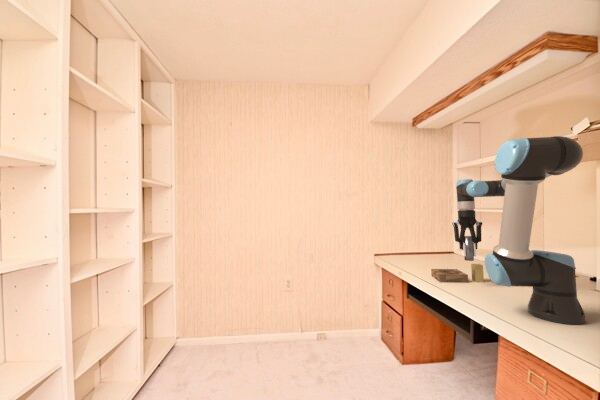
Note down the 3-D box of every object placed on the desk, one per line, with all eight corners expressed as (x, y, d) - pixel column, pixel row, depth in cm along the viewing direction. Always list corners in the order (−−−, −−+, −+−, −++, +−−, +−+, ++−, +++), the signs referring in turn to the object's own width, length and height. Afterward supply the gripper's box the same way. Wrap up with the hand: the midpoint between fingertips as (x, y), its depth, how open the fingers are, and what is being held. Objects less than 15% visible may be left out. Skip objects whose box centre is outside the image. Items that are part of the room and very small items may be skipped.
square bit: (483, 282, 140) (482, 265, 141) (475, 282, 141) (474, 265, 141) (480, 280, 144) (479, 263, 145) (472, 280, 145) (471, 263, 145)
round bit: (475, 260, 132) (473, 236, 133) (466, 260, 133) (465, 236, 133) (471, 259, 136) (470, 235, 137) (463, 259, 137) (461, 236, 137)
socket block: (468, 282, 141) (467, 275, 141) (439, 282, 143) (439, 274, 143) (457, 276, 154) (456, 269, 155) (431, 275, 157) (431, 268, 157)
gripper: (480, 209, 138) (483, 254, 137) (445, 210, 141) (448, 254, 139) (488, 209, 131) (491, 257, 129) (451, 210, 133) (453, 257, 132)
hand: (468, 255), depth 134 cm, fingers closed on round bit, 4 cm apart
